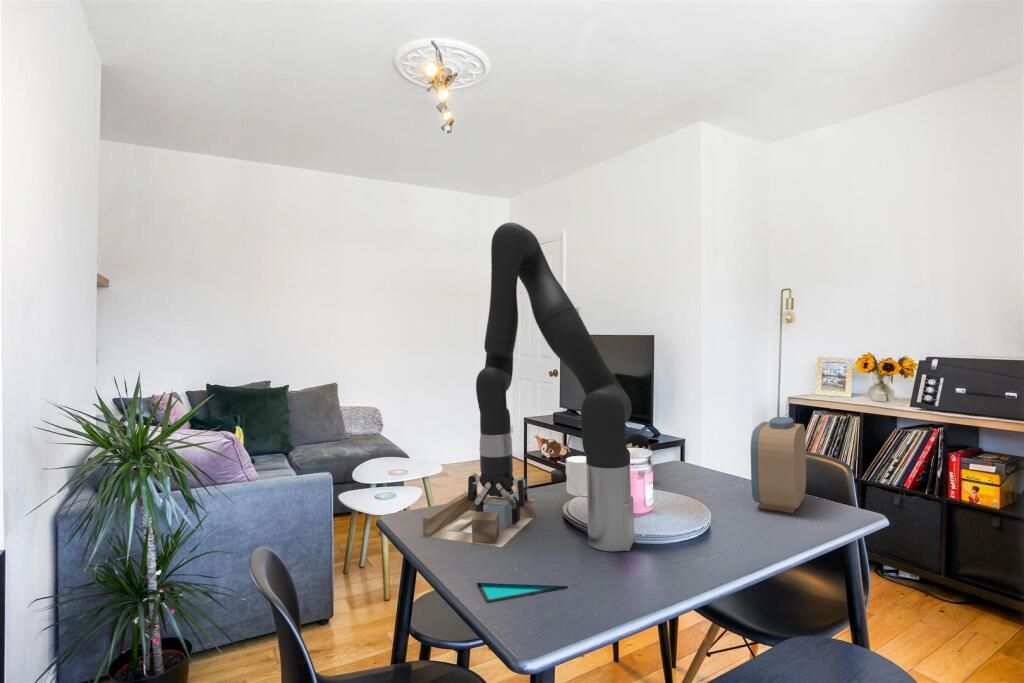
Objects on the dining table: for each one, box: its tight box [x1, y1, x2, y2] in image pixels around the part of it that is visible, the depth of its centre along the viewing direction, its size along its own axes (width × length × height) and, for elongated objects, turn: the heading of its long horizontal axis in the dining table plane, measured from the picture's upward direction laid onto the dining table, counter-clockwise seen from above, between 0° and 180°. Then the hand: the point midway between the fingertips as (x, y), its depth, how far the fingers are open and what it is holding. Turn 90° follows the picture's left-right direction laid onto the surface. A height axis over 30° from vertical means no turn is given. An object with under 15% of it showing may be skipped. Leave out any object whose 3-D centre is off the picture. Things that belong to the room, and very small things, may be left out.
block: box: [483, 499, 512, 530], centre depth 123 cm, size 5×5×5 cm
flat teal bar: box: [476, 582, 569, 604], centre depth 95 cm, size 7×1×15 cm
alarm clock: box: [750, 416, 807, 514], centre depth 135 cm, size 21×10×22 cm, turn 144°
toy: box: [626, 433, 653, 465], centre depth 155 cm, size 9×7×15 cm
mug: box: [565, 455, 587, 497], centre depth 149 cm, size 12×9×8 cm
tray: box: [422, 491, 536, 548], centre depth 123 cm, size 19×20×5 cm
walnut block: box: [471, 512, 499, 544], centre depth 114 cm, size 5×5×5 cm
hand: (498, 521), depth 123 cm, fingers open, 8 cm apart
